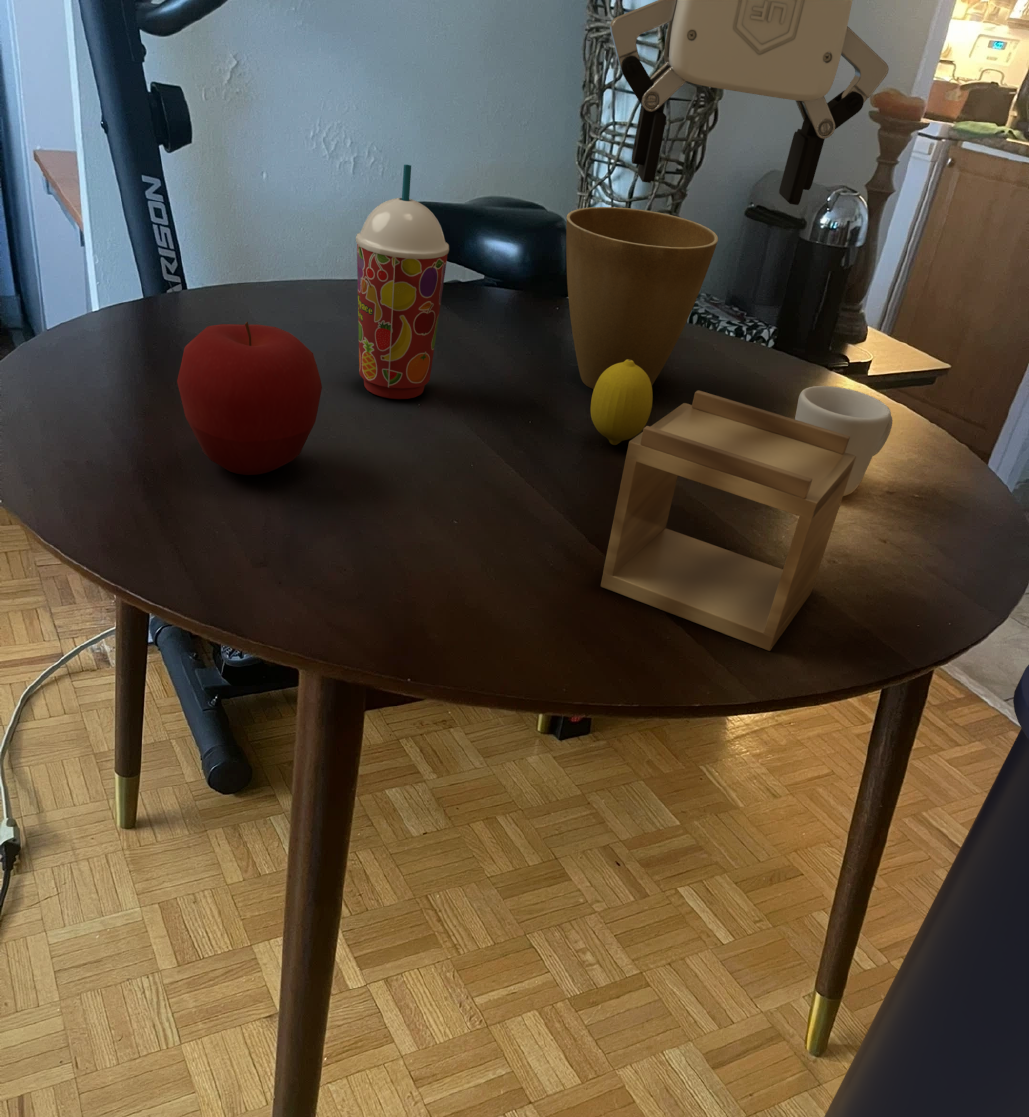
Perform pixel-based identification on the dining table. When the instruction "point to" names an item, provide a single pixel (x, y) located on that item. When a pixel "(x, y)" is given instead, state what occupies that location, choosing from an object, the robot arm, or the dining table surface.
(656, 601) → the shelf
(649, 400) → the lemon
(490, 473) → the dining table surface
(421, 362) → the smoothie
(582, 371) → the plant pot
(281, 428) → the apple
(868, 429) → the cup
